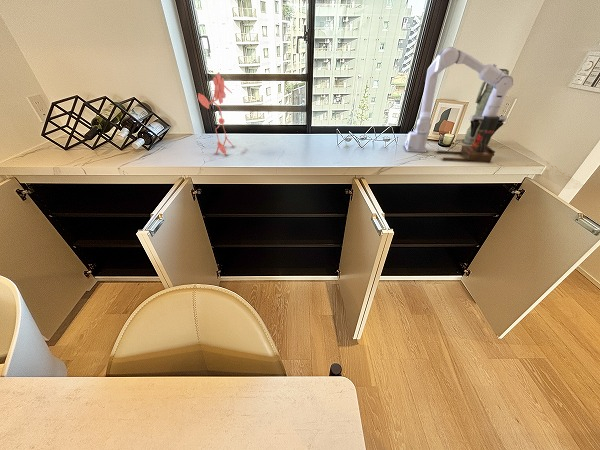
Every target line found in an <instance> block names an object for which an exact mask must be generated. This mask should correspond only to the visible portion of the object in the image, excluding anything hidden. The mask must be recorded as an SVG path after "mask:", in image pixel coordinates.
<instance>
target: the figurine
mask: <svg viewBox="0 0 600 450" xmlns="http://www.w3.org/2000/svg"><path fill="white" fill-rule="evenodd" d="M215 76H216V77H215ZM215 76H213V78H212V80H213V84H214V93H213V97H212V99H211V100H210V101H209V100H208V98H207V97H206V96H205V95H204V94H202V93H200V92H198V93H197V98H198V101H199V103H200V104H201V105H202V106H203V107H204V108H206V109H208V110H209V109H210V105H211V104H212V103H213V104H214V105H215V106H216V107H217V108H218V109H219V114H220V117H219V119H218V123H219V124H218V125H217V127H215V134H216V137H217V140H218V141H217V143H216V145H217V147H216V151H215V154H216V155H217V154H218V152H219V150H220V152H221V153H222V154H223V155H225V156H227V150H226V147H225V144H226V141H227V142H228V143H229V144H230V145H231V146H232V147H234V145H233V143H232V142H231V141H230V140H229V138H228V136H227V133H226V130H225V126H224V124H225V119H224V118H223V114H222V109H221V107H220V106H219V105H218V104H217V103H216V102H217V101H218V103H219V104H220V105H222V104H223V102H224V99H225V98H226V92H225V89H226V90H227V91H228V92H229V93H230V94H233V92H232V91H231V90H230V89H229V88H228V87H227V86H226V85H225V79H224V77H221V73H220V72H217V73H216V75H215ZM221 125H222V128H223V133H224V141H223V144H222V143H221V141H220V139H219V135H218V131H217V129H219V127H220V126H221ZM246 151H248V148H246ZM243 154H244V152H243V153H240V154H239V155H240V156H241V155H243ZM209 158H210V159H212V156H211V157H209Z"/></svg>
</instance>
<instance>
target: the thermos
mask: <svg viewBox="0 0 600 450" xmlns="http://www.w3.org/2000/svg"><path fill="white" fill-rule="evenodd" d="M499 69H500V70H501V71H506V73H505V74H507V75H509V74H510V70H509V69H506V68H499ZM509 76H510V75H509ZM495 89H496V88H495ZM492 90H493V85H489V84H488V83H486V82H485V81H483V82H482V83H481V85H480V88H479V90H478V93H477V95H476V98H475V104H476V106H475V107H476V110H475V112H474V115H482V114H483V111H484V109H485V106H486V104H487V101H488V99H489V96H490V94H491V92H492ZM479 123H480V125H481V123H482V121H479ZM480 125H479V126H478V128H477V130H476V133H475V135H474V137H471V136H470V135H471V124H470V125H469V127H468V128H467V130H466V132H465V135H464V139H463V143H464V144H466V145H469V146H472V145H473V143H474V140H475V138H476V135H477V133H478V130H479V128H480Z"/></svg>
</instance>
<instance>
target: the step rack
mask: <svg viewBox="0 0 600 450" xmlns="http://www.w3.org/2000/svg"><path fill="white" fill-rule="evenodd" d="M471 147H472V145H461V150H460V151H457V150H437V152H436V153H437V154H451V155H461V156H462V157H445V156H443V157H442V160H443V161H453V162H455V161H456V162H472V163H473V162H474V163H475V162H476V163H491V161H492V159H493V157H495V153H496V150H494V149H493V148H491V146H489V145H488V146H487V148H486V150H485V152H476V151H473V150H471Z"/></svg>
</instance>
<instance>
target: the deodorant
mask: <svg viewBox="0 0 600 450" xmlns="http://www.w3.org/2000/svg"><path fill="white" fill-rule="evenodd" d="M498 116H499V115H497V117H487V116H484V119H483V120H482V123H481V125H480V128H479V130H478V133H477V135H476V138H475V140H474V143H473V145H471V146H472V147H471V150H473V151H476V152H485V150H486V148H487V146H489V143H490V142H491V140H492V137H493V135H494V134H493V132H494V130H495V128H496V125H497V123H498V121H499V119H500V117H498ZM492 134H493V135H492Z"/></svg>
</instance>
